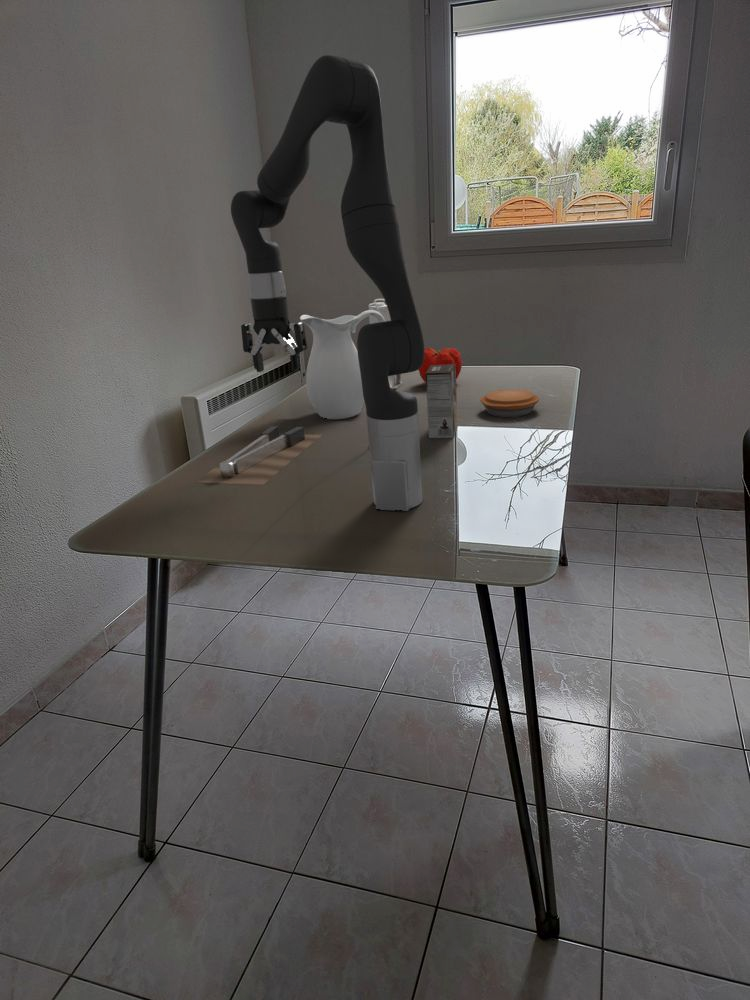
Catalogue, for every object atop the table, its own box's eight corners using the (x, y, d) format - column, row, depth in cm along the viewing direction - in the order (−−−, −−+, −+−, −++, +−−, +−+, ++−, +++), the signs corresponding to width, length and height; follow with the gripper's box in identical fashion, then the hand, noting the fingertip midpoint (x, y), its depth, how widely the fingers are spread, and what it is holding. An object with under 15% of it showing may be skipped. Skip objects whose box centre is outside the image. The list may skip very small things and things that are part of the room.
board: (263, 491, 136) (262, 484, 136) (195, 488, 141) (193, 482, 140) (322, 440, 166) (321, 434, 166) (264, 439, 171) (263, 434, 170)
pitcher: (316, 426, 179) (304, 320, 168) (304, 411, 194) (293, 313, 183) (400, 413, 184) (394, 309, 174) (383, 400, 200) (376, 304, 189)
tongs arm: (241, 473, 143) (239, 460, 142) (234, 472, 144) (232, 459, 143) (304, 439, 163) (303, 427, 162) (298, 438, 164) (297, 426, 163)
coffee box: (432, 427, 170) (430, 364, 163) (457, 427, 168) (456, 363, 162) (428, 438, 161) (425, 372, 155) (454, 438, 160) (452, 371, 154)
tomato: (415, 389, 209) (413, 352, 205) (425, 379, 222) (424, 343, 217) (457, 389, 205) (456, 351, 201) (465, 379, 218) (464, 342, 213)
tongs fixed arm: (231, 478, 141) (228, 465, 139) (217, 478, 141) (214, 465, 140) (285, 438, 165) (283, 426, 164) (273, 437, 166) (271, 426, 165)
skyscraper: (395, 390, 210) (389, 298, 199) (370, 390, 213) (363, 299, 202) (402, 384, 217) (397, 295, 207) (378, 384, 220) (372, 296, 209)
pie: (510, 401, 188) (510, 383, 186) (551, 411, 176) (552, 392, 174) (468, 412, 181) (468, 394, 179) (508, 423, 168) (508, 404, 167)
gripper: (229, 298, 139) (240, 375, 145) (291, 296, 134) (300, 375, 141) (246, 293, 145) (257, 367, 152) (306, 291, 141) (314, 367, 147)
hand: (277, 371), depth 146 cm, fingers open, 8 cm apart
